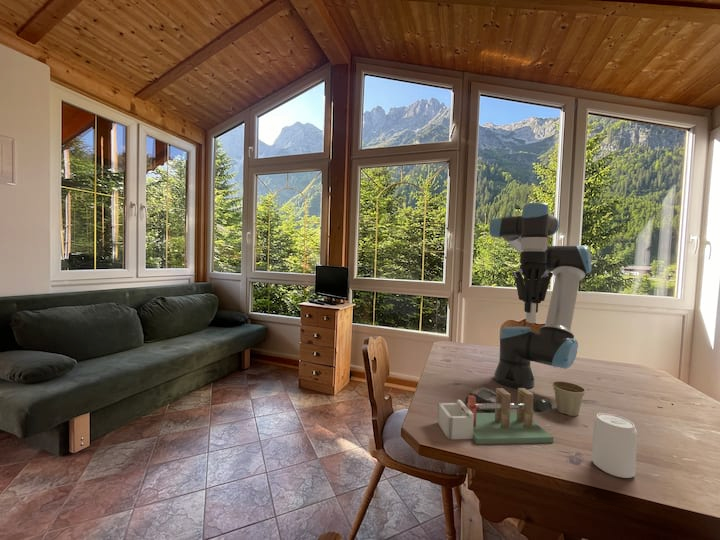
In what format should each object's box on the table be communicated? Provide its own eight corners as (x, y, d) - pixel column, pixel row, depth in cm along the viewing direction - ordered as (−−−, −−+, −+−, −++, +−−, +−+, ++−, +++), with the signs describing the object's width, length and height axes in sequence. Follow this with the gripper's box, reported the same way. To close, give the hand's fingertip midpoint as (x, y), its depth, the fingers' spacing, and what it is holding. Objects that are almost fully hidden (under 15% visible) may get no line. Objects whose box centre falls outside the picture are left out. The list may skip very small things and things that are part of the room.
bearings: (522, 420, 93) (524, 387, 93) (532, 428, 89) (533, 394, 89) (494, 420, 93) (496, 388, 92) (502, 428, 88) (504, 394, 88)
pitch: (522, 416, 99) (522, 412, 98) (553, 442, 85) (553, 437, 85) (456, 417, 97) (456, 413, 97) (477, 444, 83) (477, 438, 83)
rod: (543, 418, 94) (544, 393, 93) (551, 425, 90) (552, 398, 90) (465, 420, 91) (466, 393, 91) (471, 426, 88) (472, 399, 88)
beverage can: (583, 458, 78) (585, 412, 78) (612, 457, 79) (615, 411, 78) (612, 481, 70) (614, 429, 70) (644, 480, 71) (647, 428, 70)
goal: (459, 422, 94) (460, 399, 94) (472, 438, 85) (473, 414, 85) (437, 422, 94) (438, 399, 93) (448, 439, 85) (449, 414, 84)
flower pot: (574, 421, 97) (575, 394, 96) (544, 408, 105) (546, 383, 105) (590, 415, 101) (591, 389, 101) (560, 403, 109) (561, 379, 109)
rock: (461, 406, 106) (462, 390, 105) (471, 395, 115) (471, 380, 115) (507, 419, 97) (508, 402, 97) (513, 406, 106) (513, 391, 106)
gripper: (544, 252, 105) (541, 320, 105) (508, 250, 103) (505, 320, 104) (560, 251, 97) (557, 324, 98) (522, 250, 96) (519, 324, 96)
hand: (530, 322), depth 101 cm, fingers closed
